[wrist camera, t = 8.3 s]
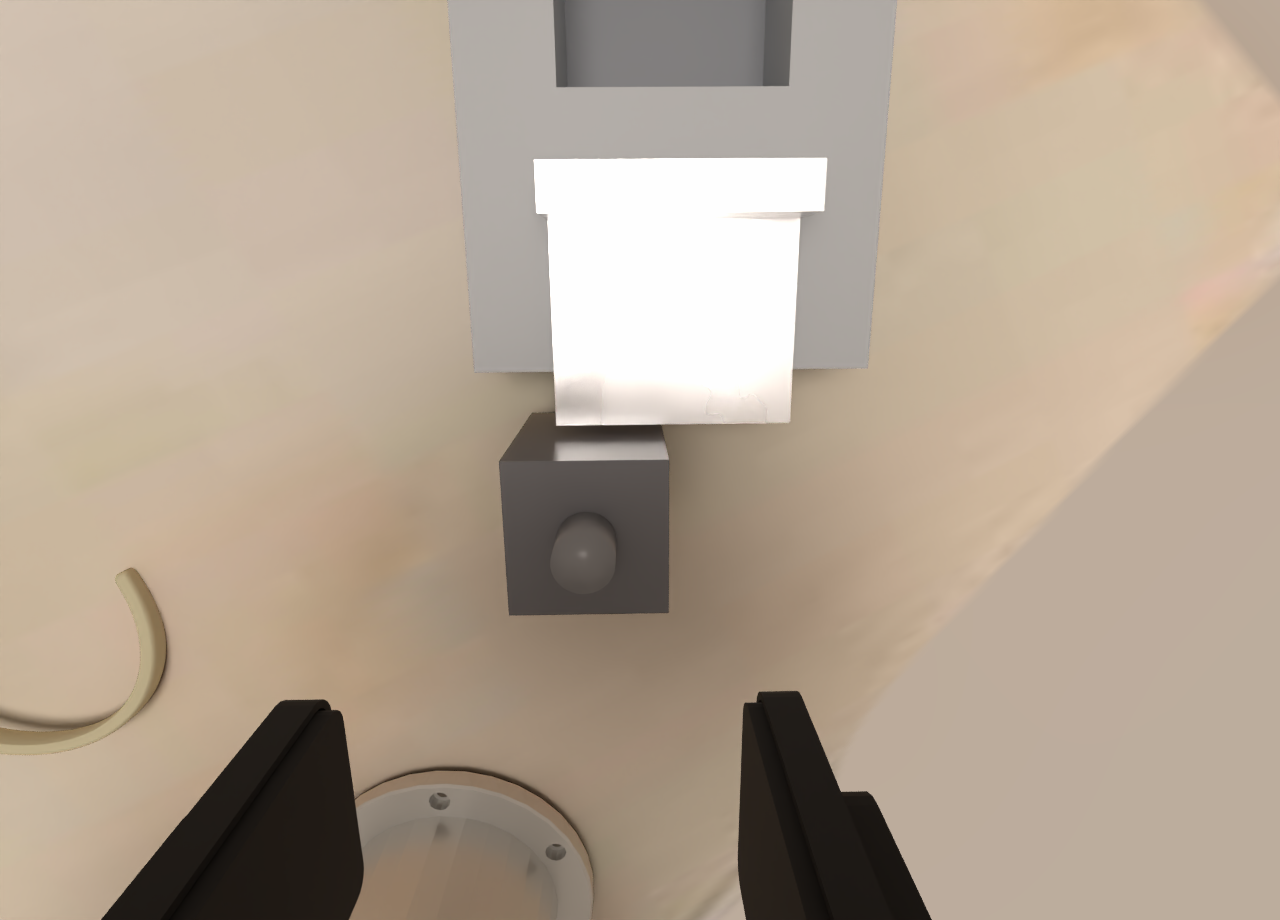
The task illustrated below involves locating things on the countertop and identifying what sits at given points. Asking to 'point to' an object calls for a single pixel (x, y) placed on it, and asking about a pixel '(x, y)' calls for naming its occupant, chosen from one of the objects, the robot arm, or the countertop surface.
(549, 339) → the socket box
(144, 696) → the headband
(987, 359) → the countertop surface
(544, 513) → the plug
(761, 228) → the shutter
